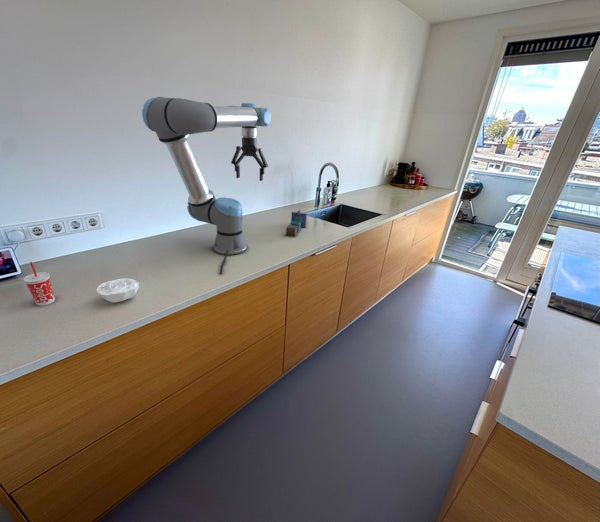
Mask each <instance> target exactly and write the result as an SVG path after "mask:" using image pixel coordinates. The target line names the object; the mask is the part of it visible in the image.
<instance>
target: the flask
mask: <svg viewBox="0 0 600 522" xmlns="http://www.w3.org/2000/svg"><path fill="white" fill-rule="evenodd" d="M301 210H302V209H298V211H297V210H293V211H291V215H290V216H291V218H290V223H291V222H292V221H298V222H301V228H300V229H305V228H307V223H308V222H307V218H308V213H307V212H304V211H301Z"/></svg>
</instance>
